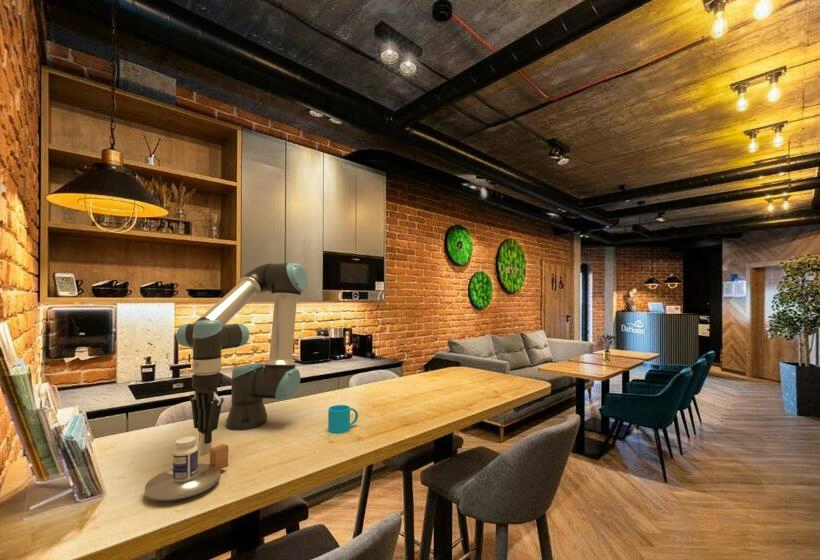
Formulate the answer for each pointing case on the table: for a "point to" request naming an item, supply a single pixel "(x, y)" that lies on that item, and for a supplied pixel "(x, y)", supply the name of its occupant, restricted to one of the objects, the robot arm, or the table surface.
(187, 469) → the pill bottle
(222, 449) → the disc
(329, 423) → the mug
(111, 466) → the table surface
